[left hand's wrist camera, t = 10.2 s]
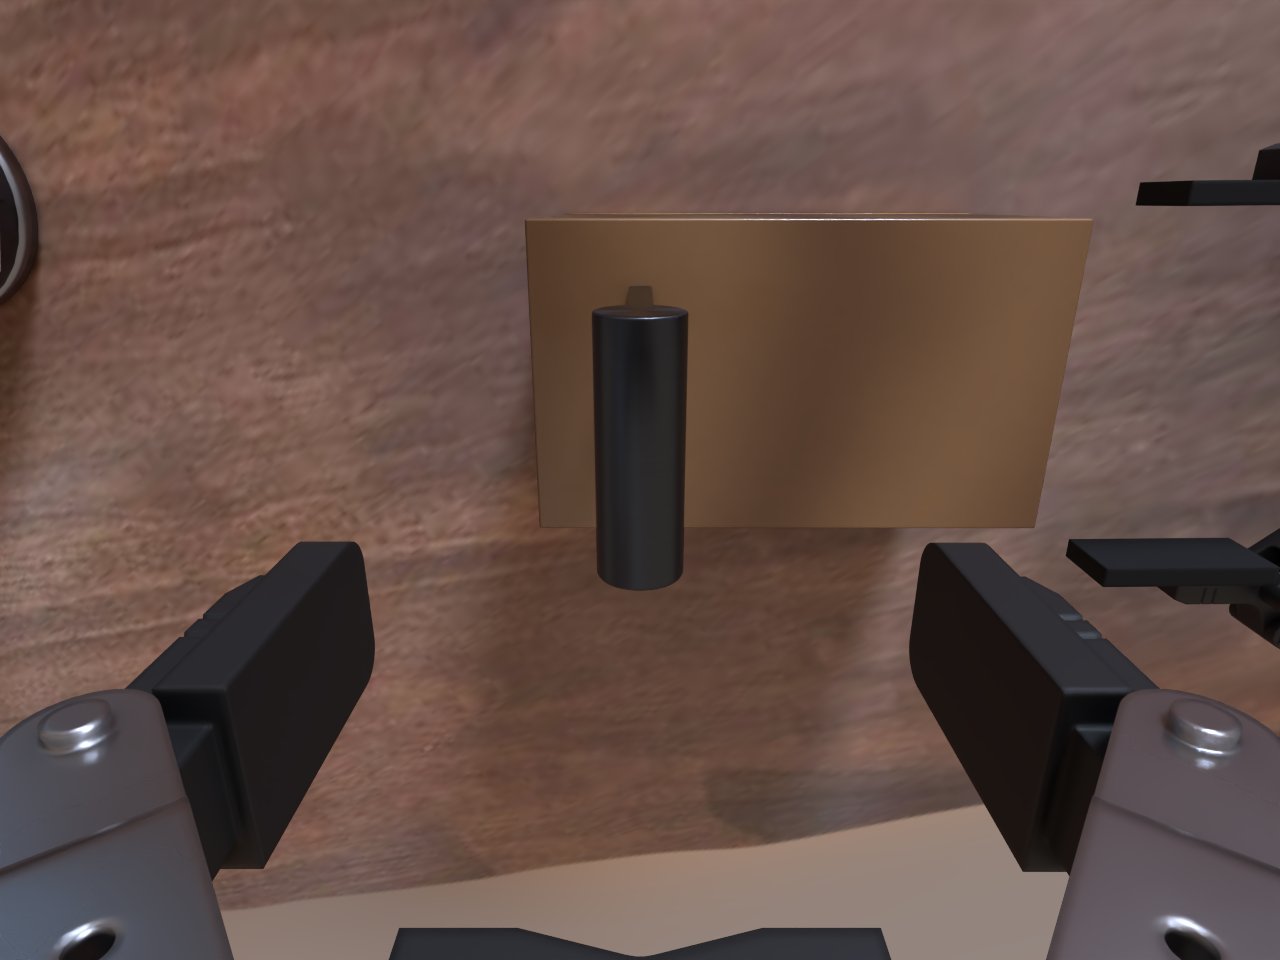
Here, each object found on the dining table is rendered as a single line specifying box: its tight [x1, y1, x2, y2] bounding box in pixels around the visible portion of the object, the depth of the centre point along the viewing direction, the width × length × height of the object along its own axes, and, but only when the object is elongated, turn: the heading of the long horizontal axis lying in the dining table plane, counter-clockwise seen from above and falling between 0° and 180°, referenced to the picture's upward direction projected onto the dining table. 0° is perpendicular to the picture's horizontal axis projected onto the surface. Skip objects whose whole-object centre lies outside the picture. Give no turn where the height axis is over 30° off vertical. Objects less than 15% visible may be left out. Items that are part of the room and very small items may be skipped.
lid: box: [525, 218, 1093, 591], centre depth 21 cm, size 17×10×9 cm, turn 90°
